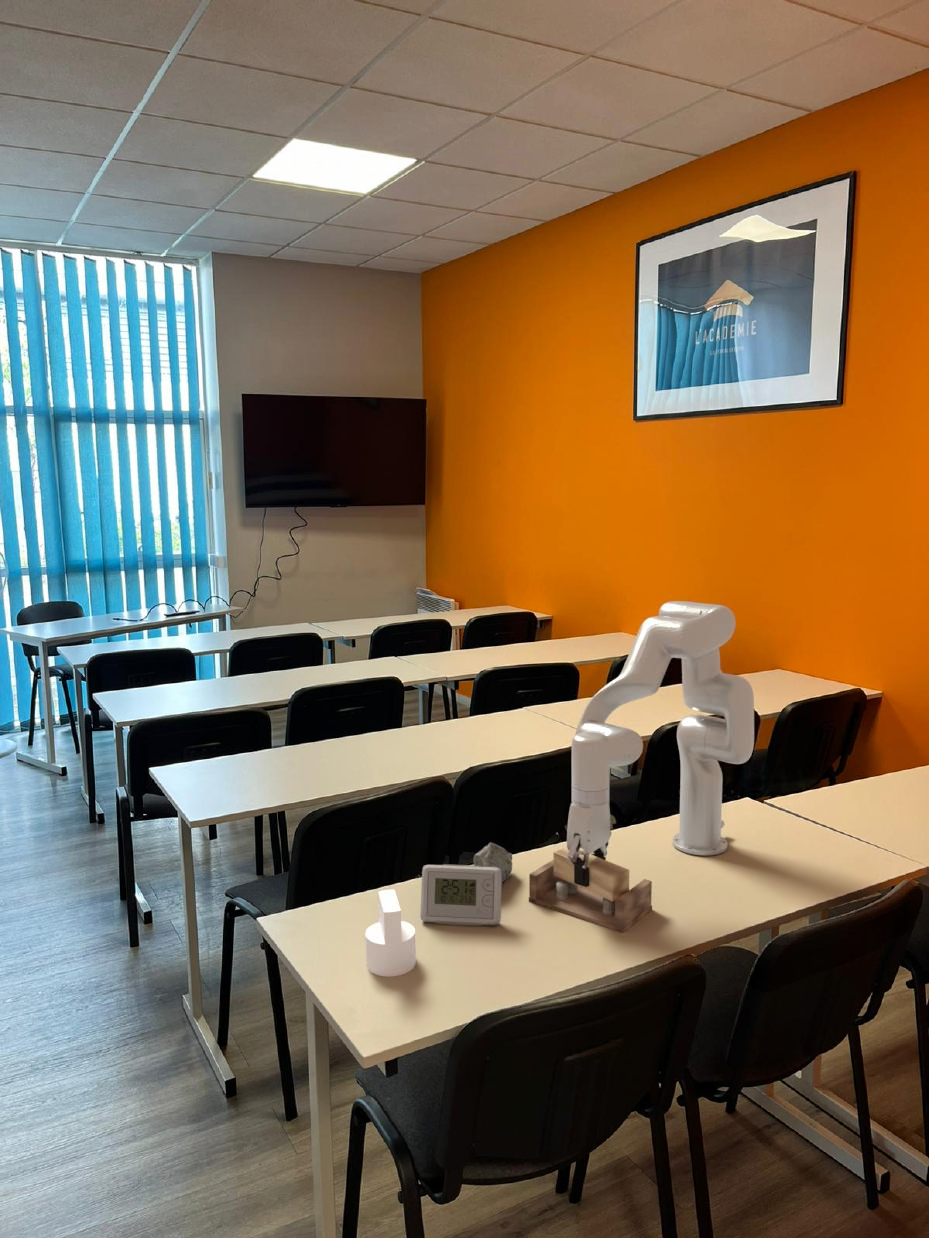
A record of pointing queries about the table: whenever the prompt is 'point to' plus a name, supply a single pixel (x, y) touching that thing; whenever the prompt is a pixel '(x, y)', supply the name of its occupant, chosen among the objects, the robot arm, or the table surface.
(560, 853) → the board
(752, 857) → the table surface
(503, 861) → the mineral rock
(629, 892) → the peg cradle
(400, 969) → the base with upright slab
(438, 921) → the digital clock
